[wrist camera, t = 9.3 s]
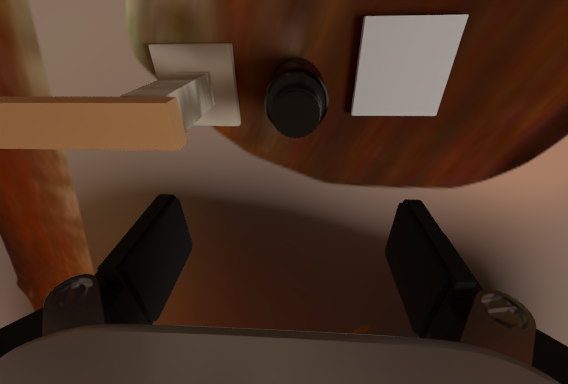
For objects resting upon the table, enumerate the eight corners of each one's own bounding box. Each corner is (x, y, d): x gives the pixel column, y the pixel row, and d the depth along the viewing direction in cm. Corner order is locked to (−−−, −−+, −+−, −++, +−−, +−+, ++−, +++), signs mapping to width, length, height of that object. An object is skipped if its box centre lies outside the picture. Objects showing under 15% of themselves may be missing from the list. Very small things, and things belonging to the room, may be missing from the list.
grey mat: (363, 16, 29) (365, 16, 28) (463, 14, 28) (468, 14, 27) (350, 113, 35) (351, 115, 34) (432, 113, 34) (435, 115, 34)
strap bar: (-87, 96, 22) (-118, 102, 21) (176, 96, 21) (165, 103, 20) (-53, 139, 25) (-79, 147, 23) (187, 141, 23) (178, 150, 22)
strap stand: (152, 43, 32) (69, 56, 20) (232, 43, 31) (192, 55, 20) (173, 122, 37) (117, 167, 26) (240, 123, 37) (213, 168, 25)
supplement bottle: (269, 109, 35) (257, 144, 25) (272, 54, 32) (258, 70, 22) (318, 114, 35) (325, 151, 25) (327, 59, 32) (338, 77, 22)
